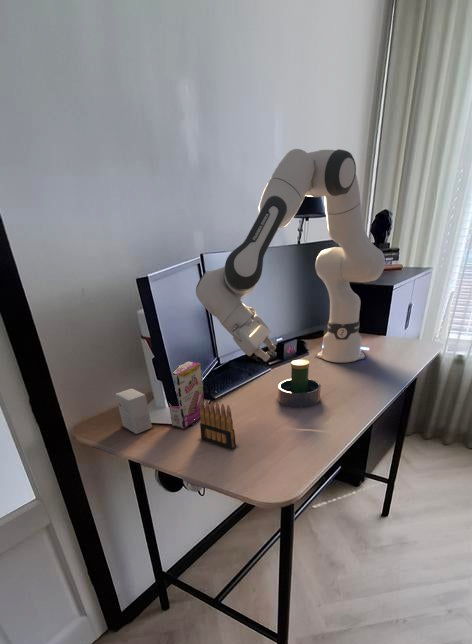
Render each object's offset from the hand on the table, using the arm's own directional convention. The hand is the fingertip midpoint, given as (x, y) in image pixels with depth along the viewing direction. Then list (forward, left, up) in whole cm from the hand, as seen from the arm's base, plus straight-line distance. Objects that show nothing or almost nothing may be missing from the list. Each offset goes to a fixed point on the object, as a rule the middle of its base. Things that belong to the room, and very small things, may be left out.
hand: (271, 354), depth 124 cm
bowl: (0, +9, -14) cm, 17 cm away
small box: (+27, -35, -15) cm, 47 cm away
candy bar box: (+20, -21, -15) cm, 33 cm away
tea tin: (0, +9, -14) cm, 17 cm away
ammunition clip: (+32, -8, -15) cm, 36 cm away
